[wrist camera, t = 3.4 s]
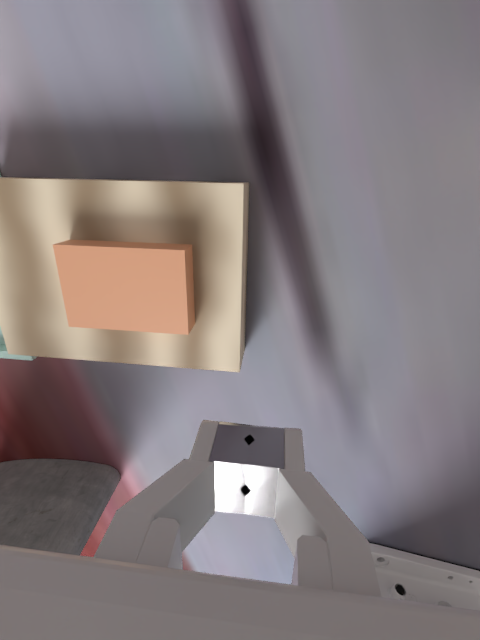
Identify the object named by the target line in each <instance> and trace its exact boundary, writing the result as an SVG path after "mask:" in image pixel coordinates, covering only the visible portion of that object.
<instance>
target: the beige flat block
mask: <svg viewBox="0 0 480 640" xmlns="http://www.w3.org/2000/svg"><path fill="white" fill-rule="evenodd" d="M248 213H249V183H247V182H202V181H157V180H112V179H67V178H22V177H0V327H1V330H2V334H3V337H4V341H5V344H6V348H7V351H8V354H13V355H26V356H39V357H51V358H64V359H77V360H90V361H102V362H115V363H128V364H141V365H154V366H166V367H179V368H192V369H205V370H218V371H230V372H240V368H241V364H242V359H243V355H244V350H245V322H246V286H247V249H248ZM67 240H94V241H118V242H143V243H167V244H191V245H192V252H193V280H194V307H195V325H194V326H193V328H192V330H191V331H190V333H189V335H183V334H168V333H154V332H139V331H124V330H110V329H95V328H80V327H69V325H68V320H67V315H66V310H65V305H64V300H63V295H62V290H61V285H60V279H59V274H58V269H57V264H56V259H55V254H54V249H53V244H56V243H60V242H63V241H67Z"/></svg>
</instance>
